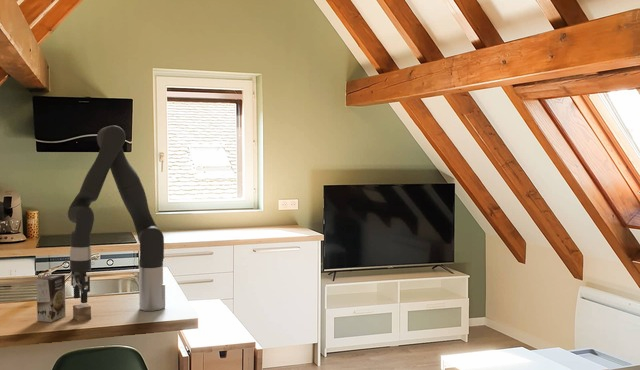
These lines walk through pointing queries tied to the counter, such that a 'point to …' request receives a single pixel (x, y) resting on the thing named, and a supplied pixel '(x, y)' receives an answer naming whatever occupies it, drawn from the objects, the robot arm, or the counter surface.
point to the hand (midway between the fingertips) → (80, 300)
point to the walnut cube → (81, 312)
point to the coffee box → (50, 298)
